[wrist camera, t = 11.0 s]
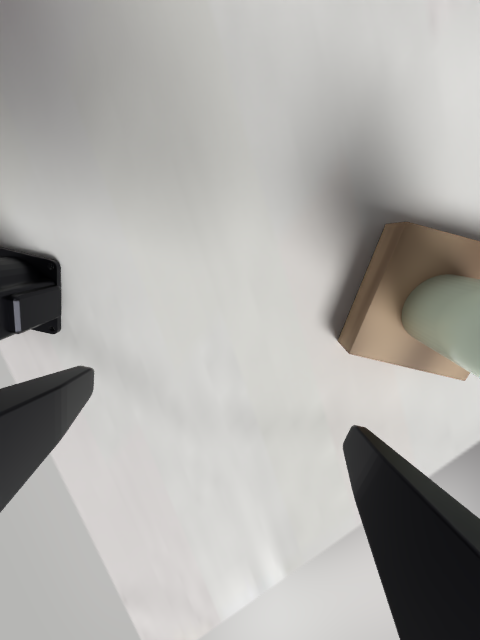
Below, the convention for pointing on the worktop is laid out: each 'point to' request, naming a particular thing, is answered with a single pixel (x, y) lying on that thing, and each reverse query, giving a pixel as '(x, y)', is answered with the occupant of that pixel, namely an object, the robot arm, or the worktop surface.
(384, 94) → the worktop surface
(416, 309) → the cream-capped mint cylinder
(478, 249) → the base
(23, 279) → the robot arm
